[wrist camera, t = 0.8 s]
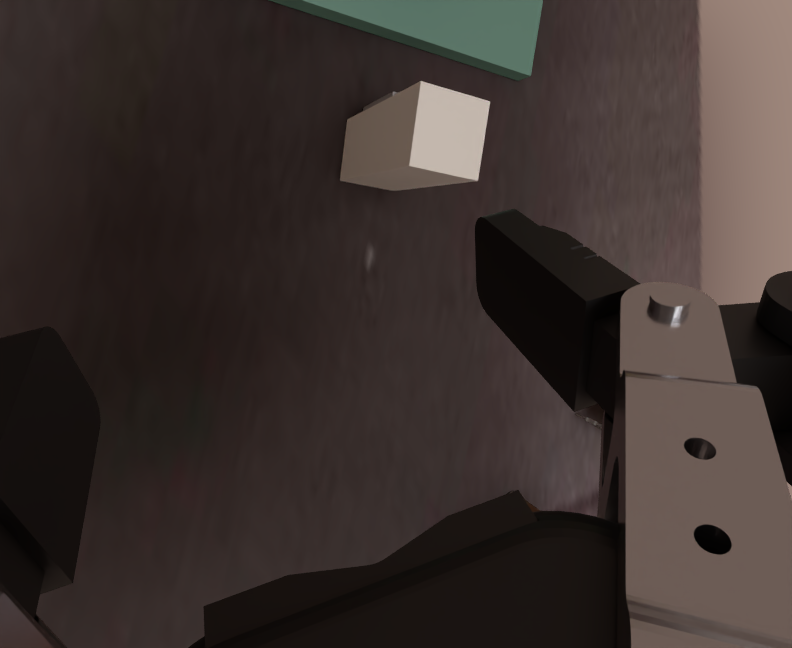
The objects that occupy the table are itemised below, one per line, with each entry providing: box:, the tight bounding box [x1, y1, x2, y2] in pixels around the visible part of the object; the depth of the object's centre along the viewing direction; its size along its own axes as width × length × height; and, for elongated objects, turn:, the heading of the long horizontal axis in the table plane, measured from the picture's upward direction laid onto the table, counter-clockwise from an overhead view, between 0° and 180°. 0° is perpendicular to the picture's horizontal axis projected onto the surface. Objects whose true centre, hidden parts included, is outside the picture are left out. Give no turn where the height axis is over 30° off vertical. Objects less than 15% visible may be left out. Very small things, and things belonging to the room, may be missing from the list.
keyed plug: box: [340, 81, 490, 191], centre depth 32 cm, size 5×4×11 cm
